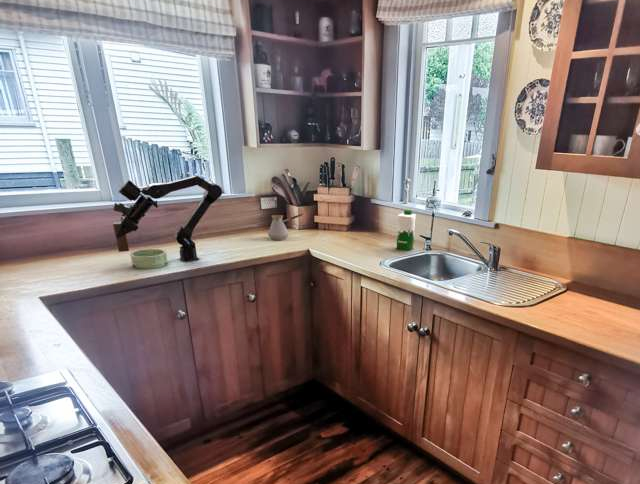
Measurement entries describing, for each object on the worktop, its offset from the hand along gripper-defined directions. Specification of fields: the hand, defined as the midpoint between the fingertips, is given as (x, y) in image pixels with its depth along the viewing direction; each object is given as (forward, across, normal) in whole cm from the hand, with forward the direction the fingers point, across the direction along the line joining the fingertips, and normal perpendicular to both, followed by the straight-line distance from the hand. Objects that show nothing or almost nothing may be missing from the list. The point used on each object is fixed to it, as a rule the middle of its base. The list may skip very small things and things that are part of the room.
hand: (117, 235), depth 201 cm
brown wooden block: (+4, 0, +6) cm, 7 cm away
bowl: (+2, +3, +17) cm, 17 cm away
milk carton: (-86, +15, +107) cm, 138 cm away
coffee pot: (-49, -27, +69) cm, 88 cm away
